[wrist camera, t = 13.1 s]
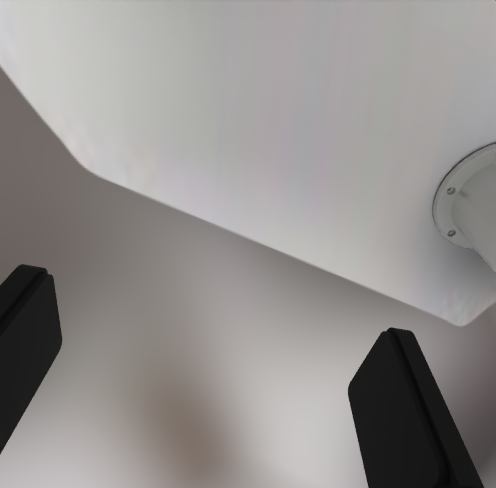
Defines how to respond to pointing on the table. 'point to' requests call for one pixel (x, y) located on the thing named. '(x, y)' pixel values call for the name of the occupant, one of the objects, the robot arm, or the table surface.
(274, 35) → the table surface
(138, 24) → the table surface
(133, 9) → the table surface
